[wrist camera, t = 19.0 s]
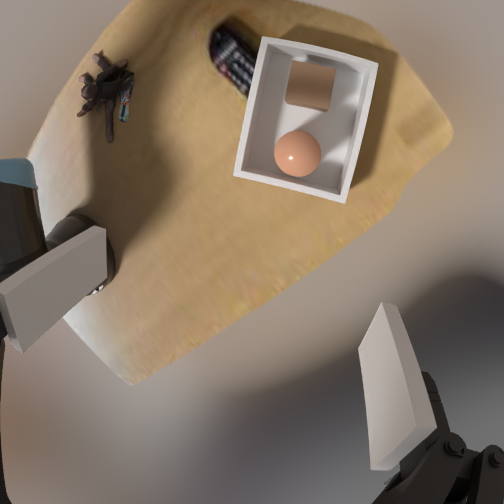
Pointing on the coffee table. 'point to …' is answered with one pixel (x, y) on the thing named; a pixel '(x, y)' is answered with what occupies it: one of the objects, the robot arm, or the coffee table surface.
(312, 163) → the round-ended peach cylinder
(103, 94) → the dark brown branched piece
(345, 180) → the tote
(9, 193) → the robot arm
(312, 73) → the walnut cube
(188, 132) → the coffee table surface
